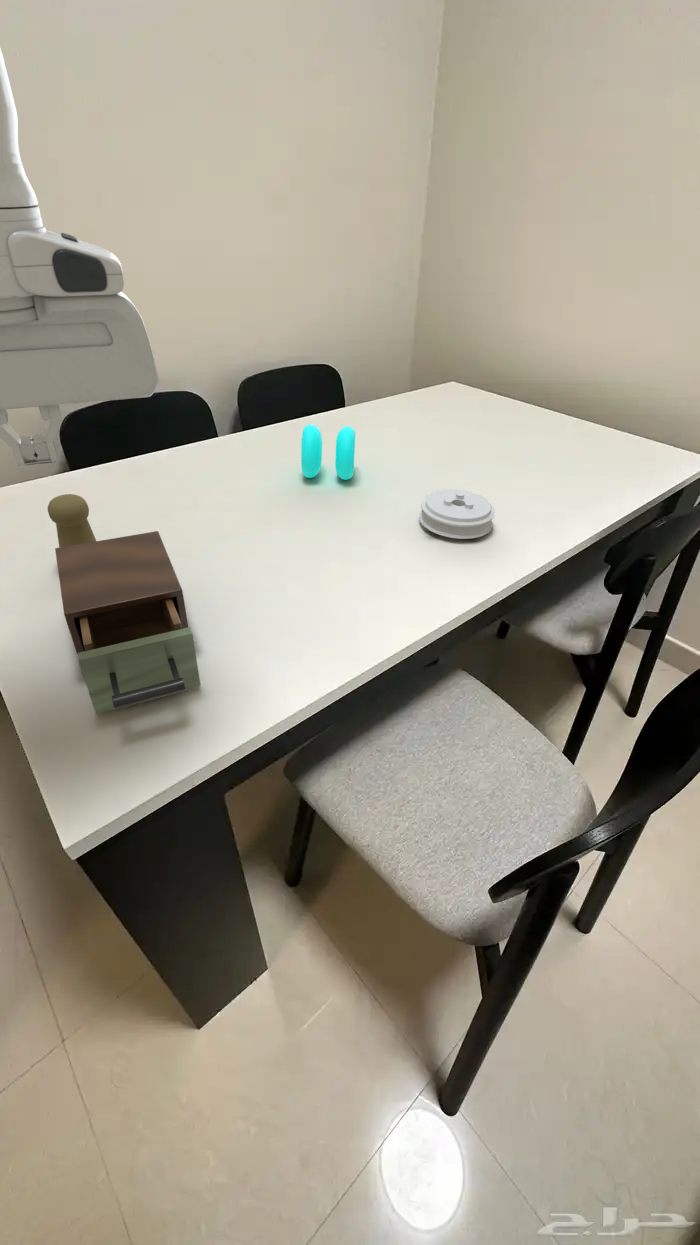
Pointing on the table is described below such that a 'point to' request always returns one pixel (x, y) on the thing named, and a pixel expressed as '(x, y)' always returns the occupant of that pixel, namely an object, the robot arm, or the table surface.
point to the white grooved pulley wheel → (457, 513)
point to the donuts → (313, 452)
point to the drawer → (136, 655)
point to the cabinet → (115, 578)
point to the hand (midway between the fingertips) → (38, 461)
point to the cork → (71, 520)
